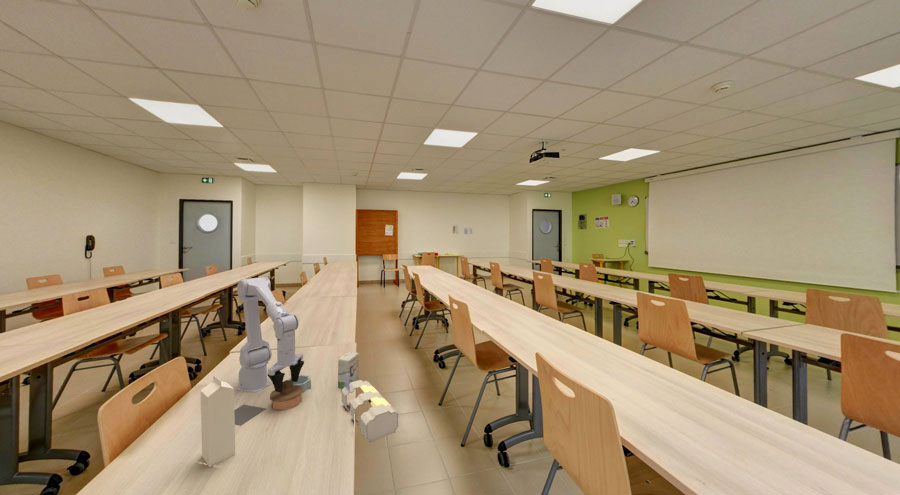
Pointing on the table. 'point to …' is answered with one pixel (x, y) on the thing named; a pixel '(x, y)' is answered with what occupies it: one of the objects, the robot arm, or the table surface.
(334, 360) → the table surface
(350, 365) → the ink box
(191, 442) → the table surface
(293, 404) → the bowl terracotta
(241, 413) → the mat
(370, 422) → the beige chunky openwork piece
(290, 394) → the lid
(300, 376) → the bowl slate
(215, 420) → the milk
